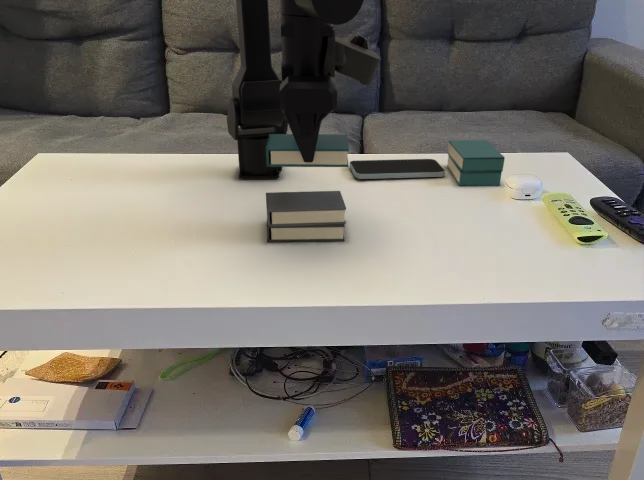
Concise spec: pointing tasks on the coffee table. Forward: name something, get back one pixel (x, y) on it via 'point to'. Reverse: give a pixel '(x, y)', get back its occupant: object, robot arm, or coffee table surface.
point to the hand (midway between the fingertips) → (308, 153)
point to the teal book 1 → (288, 155)
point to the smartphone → (396, 168)
